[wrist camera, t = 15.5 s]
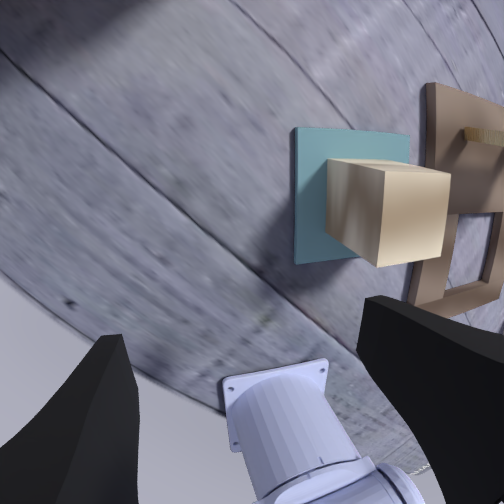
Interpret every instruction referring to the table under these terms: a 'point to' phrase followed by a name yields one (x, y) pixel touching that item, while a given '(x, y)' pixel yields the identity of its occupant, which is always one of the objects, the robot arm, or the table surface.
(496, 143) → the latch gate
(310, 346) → the table surface
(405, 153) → the teal square plate
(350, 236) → the birch block
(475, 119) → the puzzle board
